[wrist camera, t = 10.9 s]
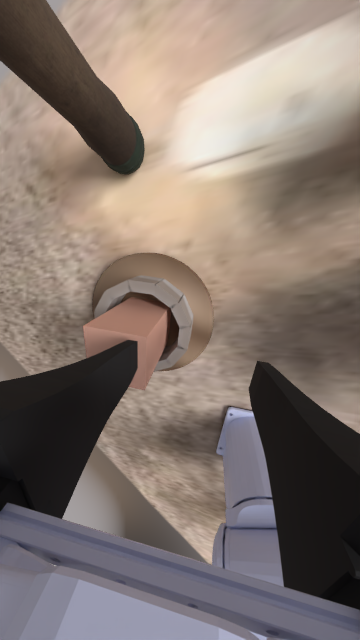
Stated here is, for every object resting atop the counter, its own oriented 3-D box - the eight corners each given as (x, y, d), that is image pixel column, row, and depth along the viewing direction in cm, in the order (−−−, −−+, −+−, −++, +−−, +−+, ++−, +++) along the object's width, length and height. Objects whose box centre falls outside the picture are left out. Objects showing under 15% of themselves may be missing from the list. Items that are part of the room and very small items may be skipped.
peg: (168, 340, 21) (144, 390, 13) (131, 333, 21) (88, 378, 14) (171, 303, 19) (146, 337, 12) (131, 296, 19) (83, 325, 12)
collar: (203, 375, 23) (201, 399, 19) (101, 355, 24) (82, 374, 21) (224, 261, 18) (228, 264, 14) (92, 245, 19) (64, 245, 15)
